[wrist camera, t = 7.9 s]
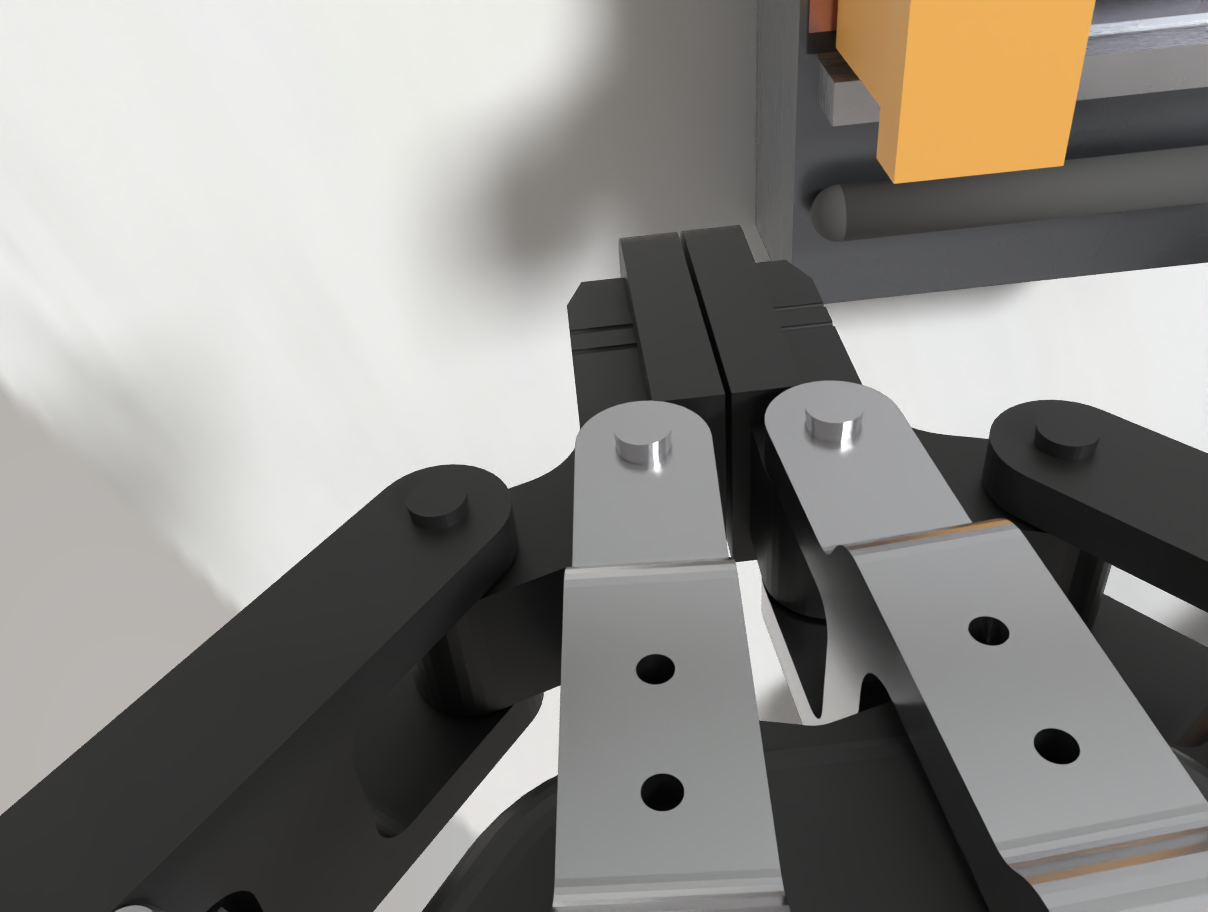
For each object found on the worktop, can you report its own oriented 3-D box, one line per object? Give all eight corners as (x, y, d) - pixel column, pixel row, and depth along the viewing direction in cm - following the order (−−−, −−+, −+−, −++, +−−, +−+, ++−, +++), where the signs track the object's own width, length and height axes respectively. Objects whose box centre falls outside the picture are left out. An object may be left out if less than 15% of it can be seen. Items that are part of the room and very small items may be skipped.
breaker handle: (978, -137, 23) (1107, -65, 18) (954, 56, 25) (1063, 166, 20) (825, -121, 23) (915, -45, 18) (817, 71, 25) (893, 184, 20)
